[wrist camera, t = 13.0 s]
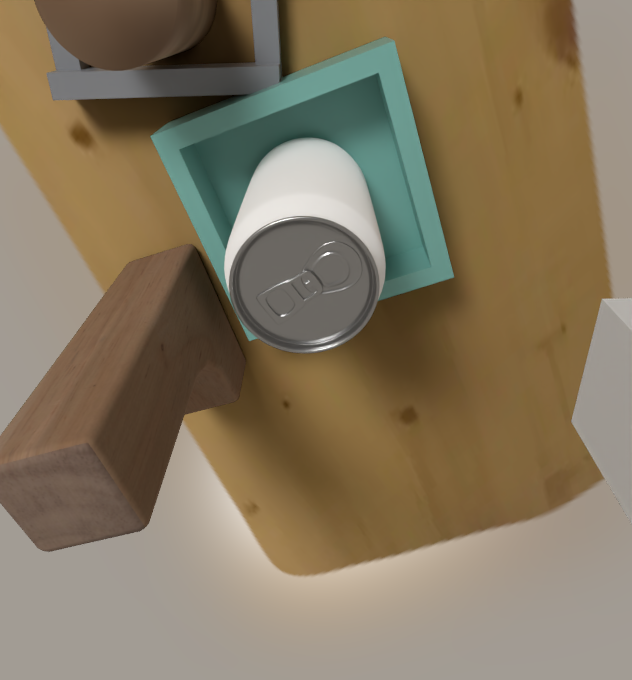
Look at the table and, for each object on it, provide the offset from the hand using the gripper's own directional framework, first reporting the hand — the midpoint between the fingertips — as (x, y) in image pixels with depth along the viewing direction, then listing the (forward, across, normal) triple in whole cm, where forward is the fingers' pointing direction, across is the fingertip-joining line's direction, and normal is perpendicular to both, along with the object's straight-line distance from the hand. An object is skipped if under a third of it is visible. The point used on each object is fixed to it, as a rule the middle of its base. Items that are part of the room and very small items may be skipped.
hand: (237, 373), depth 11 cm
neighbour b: (+23, -6, +6) cm, 25 cm away
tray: (+23, +1, -4) cm, 23 cm away
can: (+22, +1, -4) cm, 23 cm away
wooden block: (+23, -7, -11) cm, 27 cm away
